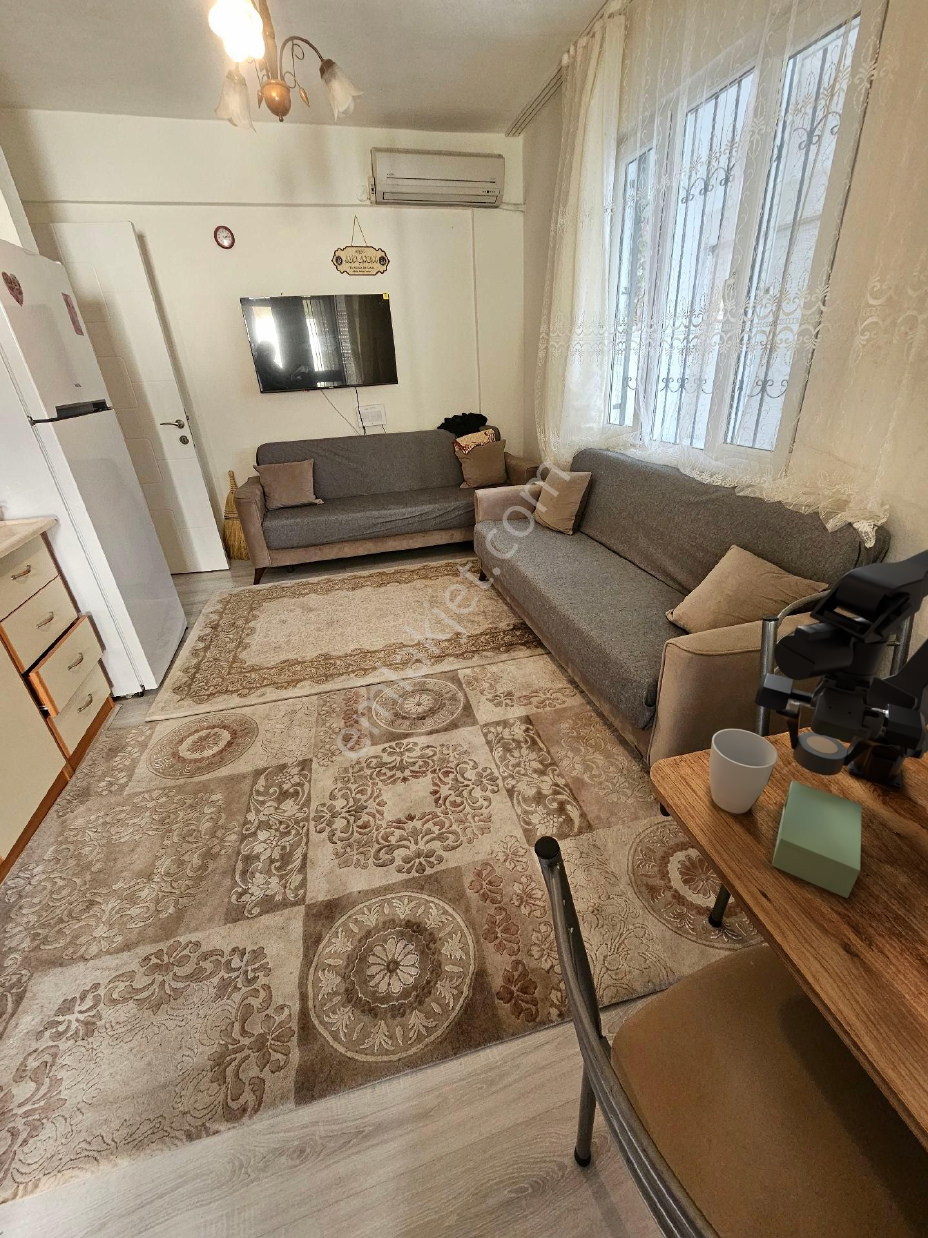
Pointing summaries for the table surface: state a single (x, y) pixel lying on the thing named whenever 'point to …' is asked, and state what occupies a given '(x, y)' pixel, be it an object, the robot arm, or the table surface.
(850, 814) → the sage green box
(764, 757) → the cup
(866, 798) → the table surface
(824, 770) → the tape
